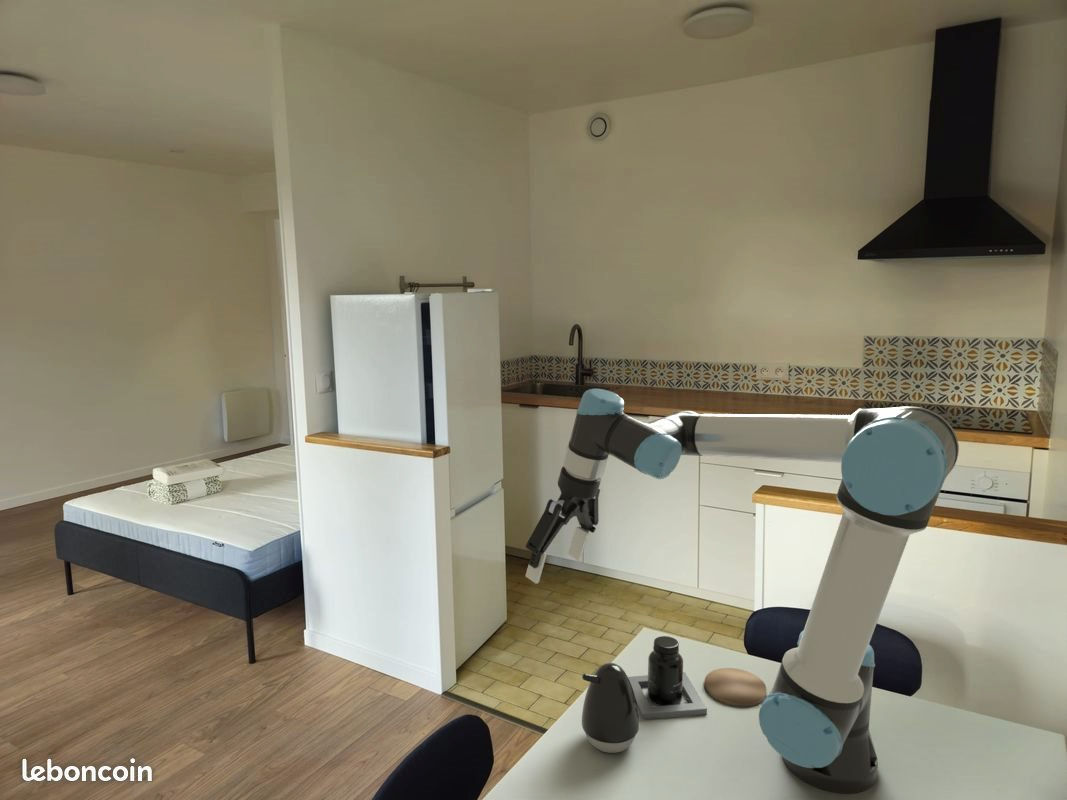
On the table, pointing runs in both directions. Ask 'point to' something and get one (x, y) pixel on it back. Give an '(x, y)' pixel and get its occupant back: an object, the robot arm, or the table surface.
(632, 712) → the pump dispenser
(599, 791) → the table surface
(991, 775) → the table surface
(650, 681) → the supplement bottle
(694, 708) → the grey flat square frame
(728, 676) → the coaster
